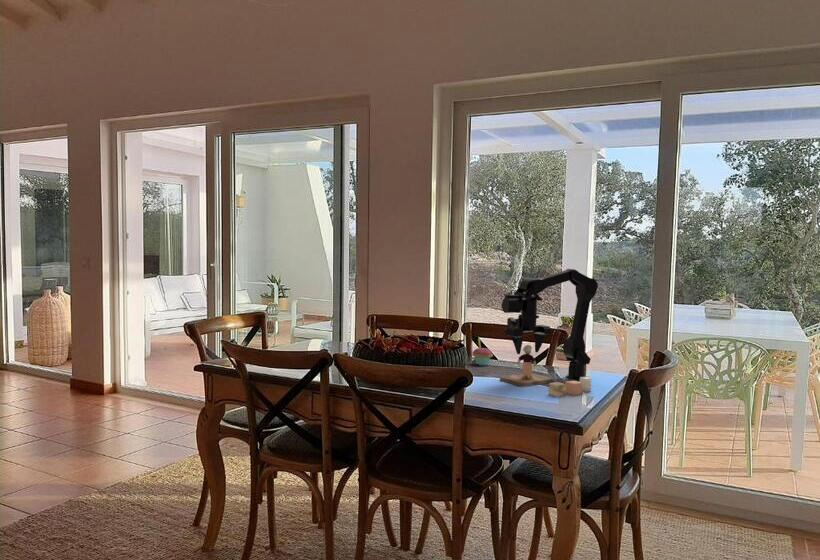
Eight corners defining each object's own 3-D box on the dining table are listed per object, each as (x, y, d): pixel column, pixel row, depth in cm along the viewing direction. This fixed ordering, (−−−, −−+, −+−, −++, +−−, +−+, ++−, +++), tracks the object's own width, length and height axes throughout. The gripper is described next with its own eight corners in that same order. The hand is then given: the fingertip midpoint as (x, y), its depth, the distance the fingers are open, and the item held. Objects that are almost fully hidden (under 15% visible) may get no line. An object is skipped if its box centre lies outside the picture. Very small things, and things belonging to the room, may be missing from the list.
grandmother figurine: (537, 378, 248) (538, 345, 247) (535, 380, 245) (536, 346, 244) (518, 375, 251) (519, 343, 251) (515, 377, 248) (516, 344, 247)
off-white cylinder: (584, 388, 238) (585, 376, 238) (593, 390, 235) (593, 378, 234) (577, 389, 236) (577, 377, 236) (585, 392, 233) (585, 379, 232)
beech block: (557, 393, 231) (557, 381, 230) (565, 395, 227) (565, 384, 227) (548, 394, 228) (549, 383, 228) (557, 396, 225) (557, 385, 225)
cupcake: (471, 365, 275) (472, 337, 274) (473, 361, 283) (473, 334, 283) (492, 366, 274) (492, 338, 273) (492, 363, 282) (493, 335, 281)
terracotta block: (573, 391, 233) (573, 380, 233) (581, 394, 230) (582, 382, 230) (565, 392, 231) (565, 381, 231) (573, 395, 228) (574, 383, 228)
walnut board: (531, 375, 257) (531, 372, 257) (553, 382, 247) (553, 378, 247) (500, 380, 249) (500, 376, 249) (521, 386, 239) (521, 383, 239)
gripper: (532, 309, 258) (531, 348, 259) (496, 311, 248) (494, 351, 249) (552, 312, 249) (551, 352, 250) (515, 314, 239) (514, 356, 240)
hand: (527, 353), depth 247 cm, fingers open, 9 cm apart
